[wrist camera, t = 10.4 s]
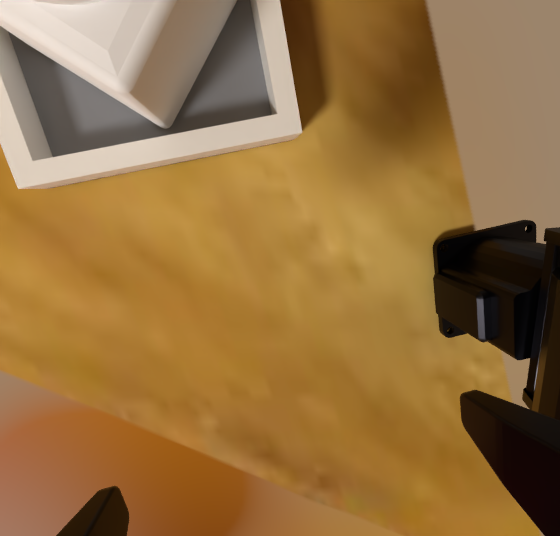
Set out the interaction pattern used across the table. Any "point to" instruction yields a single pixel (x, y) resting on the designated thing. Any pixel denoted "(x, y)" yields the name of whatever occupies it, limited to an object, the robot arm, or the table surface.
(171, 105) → the medicine bottle
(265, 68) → the walled box
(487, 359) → the table surface
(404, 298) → the table surface
